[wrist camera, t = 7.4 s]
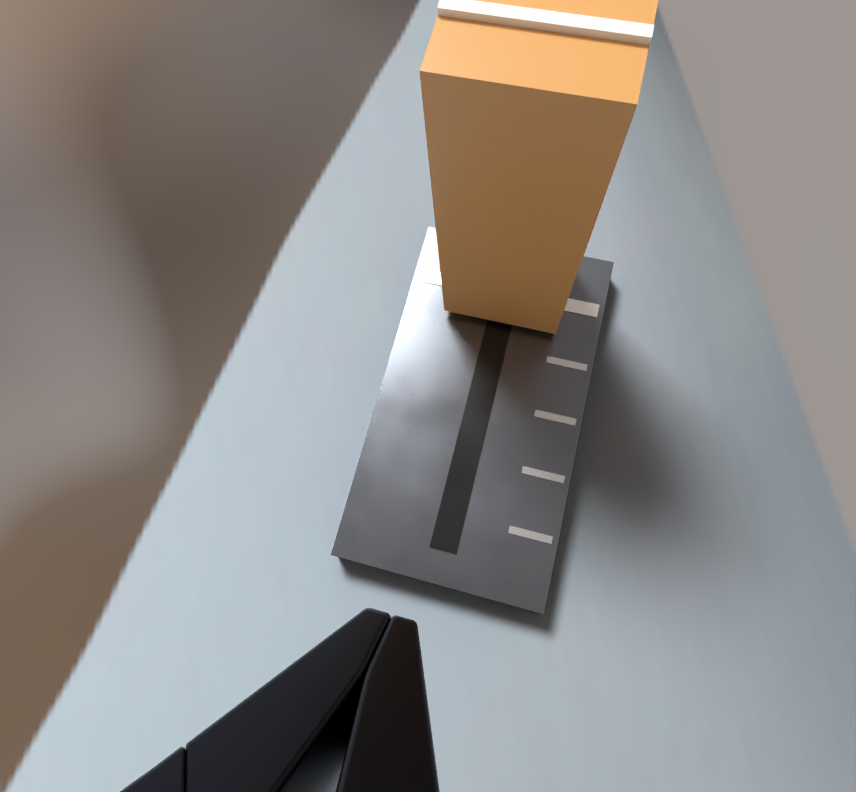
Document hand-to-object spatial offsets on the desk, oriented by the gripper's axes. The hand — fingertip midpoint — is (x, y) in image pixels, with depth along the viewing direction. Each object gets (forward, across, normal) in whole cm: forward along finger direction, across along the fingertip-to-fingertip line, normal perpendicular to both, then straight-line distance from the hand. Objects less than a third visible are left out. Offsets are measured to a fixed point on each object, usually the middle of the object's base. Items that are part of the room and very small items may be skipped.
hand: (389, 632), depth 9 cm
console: (+12, 0, -3) cm, 13 cm away
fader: (+15, 0, +1) cm, 15 cm away
